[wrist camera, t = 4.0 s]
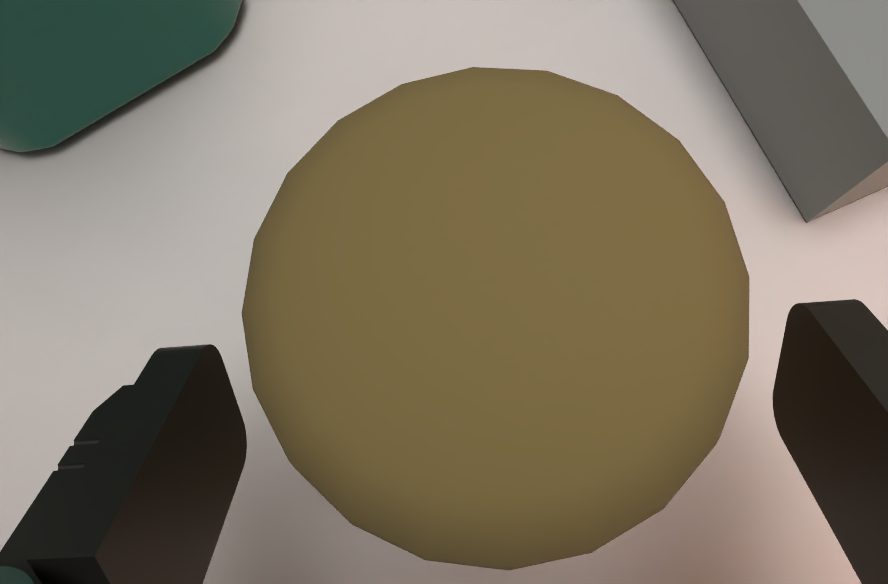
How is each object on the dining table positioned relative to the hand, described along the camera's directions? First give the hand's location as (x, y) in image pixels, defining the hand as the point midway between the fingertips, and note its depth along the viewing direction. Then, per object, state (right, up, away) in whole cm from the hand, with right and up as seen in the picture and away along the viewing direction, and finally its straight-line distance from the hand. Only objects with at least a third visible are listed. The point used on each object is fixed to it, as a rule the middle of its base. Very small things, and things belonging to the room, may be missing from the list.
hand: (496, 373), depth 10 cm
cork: (+1, -1, +7) cm, 7 cm away
